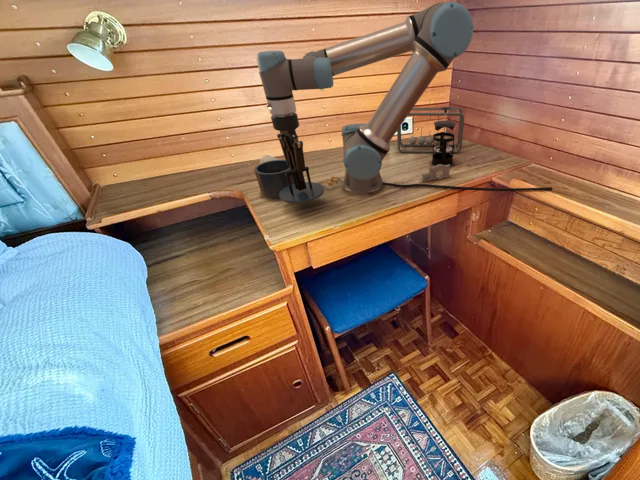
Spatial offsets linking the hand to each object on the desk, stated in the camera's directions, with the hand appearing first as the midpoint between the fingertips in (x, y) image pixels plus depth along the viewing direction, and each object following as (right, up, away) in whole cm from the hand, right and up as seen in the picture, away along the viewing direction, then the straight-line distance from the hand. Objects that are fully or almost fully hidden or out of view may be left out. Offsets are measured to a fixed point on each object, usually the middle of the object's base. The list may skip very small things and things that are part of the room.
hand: (301, 188), depth 111 cm
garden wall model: (+48, +9, +22) cm, 53 cm away
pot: (-12, +2, +15) cm, 19 cm away
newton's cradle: (+48, +30, +49) cm, 75 cm away
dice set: (+6, +6, +20) cm, 22 cm away
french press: (+52, +20, +35) cm, 66 cm away
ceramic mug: (-19, +13, +29) cm, 37 cm away
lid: (0, -1, +1) cm, 2 cm away
